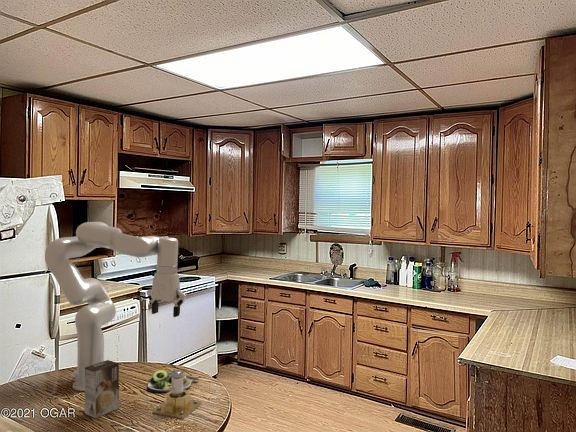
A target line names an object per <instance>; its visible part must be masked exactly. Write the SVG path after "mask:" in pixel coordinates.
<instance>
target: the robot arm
mask: <svg viewBox="0 0 576 432" xmlns="http://www.w3.org/2000/svg"><path fill="white" fill-rule="evenodd" d="M99 247H100V248H104V249H108V250H112V251H114V252H116V253H119V254H120V255H121V254H122V255H126V256H129V257H130V256H131V257H134V258H146V257H151V256H156V259H157V260H156V265H155V266H154V270H156V272H155V273H154V274H153V275H154V276H153V279H152V284H151V288H150V289H148V290H146V294H147V297H148V300H149V301H150V304H151V315H155V314H158V313H159V305H160V304H159V302H158V301H163V302H172V304H173V305H174V306H173V308H172V309H173V311H172V312H173V314H172V316H173V318H177V317H179V316H180V314H181V306H182V305H183V304H184V302H185V300H186V299H187V294H185V293H184V292H183V291H182V290H181V285H180V283H181V282H180V276H179V273H178V259H179V258H178V256H179V240H178V238H175V237H161V236H157V235H149V236H148V235H147V236H136V235H132V234H130V235H129V234H126V233H123V231H122V230H121V229H120V228H119V227H114V226H110V225H108V224H107V223H105V222H103V221H87V222H83V223H81V224H79V225H78V226H77V228H76V230H75V236H64V237H60V238H56V239H53V240H52V241H50V242H49V243H48V244H47V245H46V248H45V251H44V262H45V264H46V266H47V268H48V269H49V271H50V272H51V274H52V275H53V277H54V279H55V280H56V282H57V284H58V285H59V287H60V289H61V291H62V292H63V294H64V296H65V298H66V300H67V301H68V303H69V304H71V305H72V306H81V305H83V304H88V305H84V306H83V307H82V308H80V309H79V310H78V311H77V312H76V314H75V317H74V324H75V328H76V335H77V336H76V337H77V345H76V346H77V355H76V356H77V358H76V359H77V362H76V364H77V365H76V367H77V370H74V371H73V372H72V374H71V375H70V378H72V379H74V380H75V381H74V382H73V383H72V388H73V389H74V390H75V391H80V392H85V367H88V366H91V365H94V364H97V363H100V362H103V361H105V338H104V337H105V336H104V333H103V329H102V327H103V325H106V324H108V323H110V322H112V321H113V320H114V318H115V317H116V314H117V311H116V306H115V303H114V302H113V301H112V298H111V296H110V295H109V293H108V291H107V289H106V288H105V286H104V285H103V283H102V282H101V281H100V280H98V279H97V278H93V277H87V278H84V277H83V276H82V274H81V273H80V271H79V269H78V267H77V266H76V265H75V264H74V263H72V262H71V261H70V260H69V259H73V258H74V259H75V258H80V257H83V256H86V255H87V254H89V253H91V252H92V251H94V250H95V249H96V248H99Z"/></svg>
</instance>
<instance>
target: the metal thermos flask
mask: <svg viewBox="0 0 576 432" xmlns="http://www.w3.org/2000/svg"><path fill="white" fill-rule="evenodd" d="M184 371H185V370H183V369H173V370H172V371H171V374H172V388H171V389H170V390H171V397H173V398H180V397H183V377H184Z"/></svg>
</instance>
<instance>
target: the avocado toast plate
mask: <svg viewBox="0 0 576 432" xmlns="http://www.w3.org/2000/svg"><path fill="white" fill-rule="evenodd" d="M198 380H200V379H199V377H196V376H195V377H194V376H191V375H190V374H188V373H184V377H183V390H188V389H189V388H190V387H191V385H192V383H193V382H194V381H198ZM171 388H172V372H168V371H167V370H166V369H162V368H161V369H157V370H155V371H154V372H153V373H152V375H151V378H150V379H149V382H148V384H147V386H146V389H147V390H149V392H151V393H157V394H160V393H161V394H163V393H168V392H170V391H171Z"/></svg>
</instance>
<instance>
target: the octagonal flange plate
mask: <svg viewBox="0 0 576 432" xmlns="http://www.w3.org/2000/svg"><path fill="white" fill-rule="evenodd" d="M164 395H165V397H164V399H165V401H164V402H162V403H161V404H159V405H158V406H156V407H155V408H154V409H152V414H156V415H161V416H164V417H165V416H166V417H171V418H175V419H181V420H184V419H185V418H186V417H188V416H189V415H190V414H191V413H192V412H193V411H196V409H197V408H198V407H200V406H201V405H202V401H201V400H198V399H191V393H190V391H189V390H188V389H185V390H183V397H180V398H173V397H171V391H170V392H166V393H165V394H164Z"/></svg>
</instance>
